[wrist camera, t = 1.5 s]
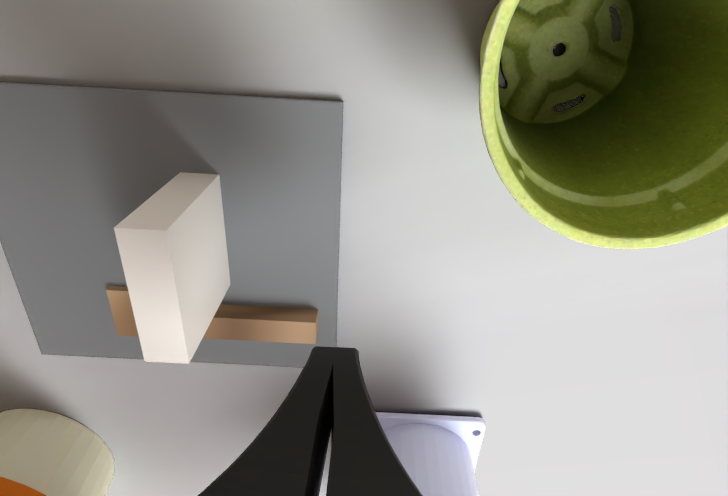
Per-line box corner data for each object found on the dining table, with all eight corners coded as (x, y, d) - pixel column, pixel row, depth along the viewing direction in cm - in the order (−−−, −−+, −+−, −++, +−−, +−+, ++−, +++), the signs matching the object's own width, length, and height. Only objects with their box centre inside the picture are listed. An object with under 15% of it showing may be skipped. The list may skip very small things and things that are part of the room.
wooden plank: (318, 296, 24) (315, 310, 23) (318, 341, 25) (315, 355, 24) (110, 285, 24) (97, 298, 23) (121, 331, 25) (110, 345, 24)
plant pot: (479, 193, 21) (538, 294, 14) (401, -14, 17) (425, -34, 10) (686, 107, 19) (892, 170, 12) (652, -149, 15) (930, -306, 8)
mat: (335, 364, 26) (335, 369, 26) (46, 349, 26) (41, 354, 26) (343, 101, 19) (342, 102, 19) (-52, 78, 19) (-60, 80, 19)
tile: (230, 284, 23) (189, 363, 18) (195, 282, 23) (143, 361, 18) (219, 174, 21) (166, 230, 15) (179, 172, 21) (112, 227, 15)
